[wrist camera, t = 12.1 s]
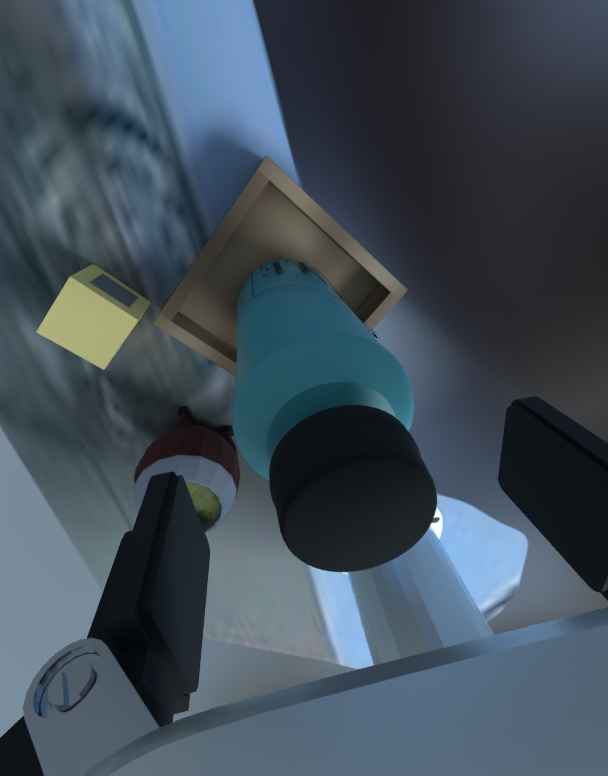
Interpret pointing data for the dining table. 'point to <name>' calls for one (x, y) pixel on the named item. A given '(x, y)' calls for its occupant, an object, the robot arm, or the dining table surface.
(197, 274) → the tray
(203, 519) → the mate gourd
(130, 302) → the pale yellow cube
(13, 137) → the dining table surface
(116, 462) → the dining table surface
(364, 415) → the beverage bottle
